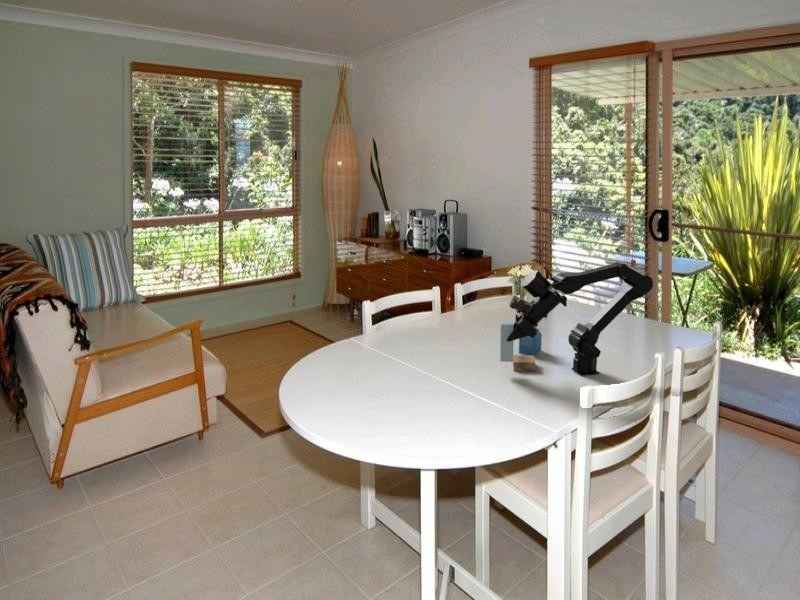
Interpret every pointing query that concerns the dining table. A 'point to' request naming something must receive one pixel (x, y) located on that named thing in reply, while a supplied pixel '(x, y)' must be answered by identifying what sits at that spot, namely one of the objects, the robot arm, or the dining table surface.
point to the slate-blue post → (506, 342)
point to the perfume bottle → (530, 344)
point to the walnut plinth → (523, 363)
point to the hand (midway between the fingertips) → (507, 338)
